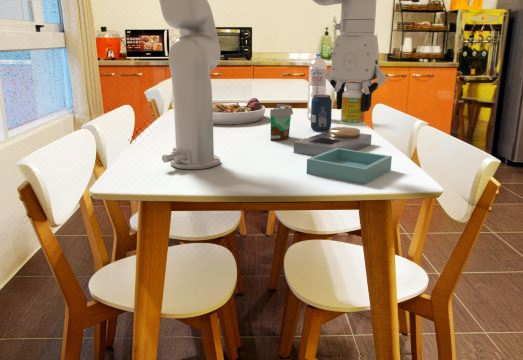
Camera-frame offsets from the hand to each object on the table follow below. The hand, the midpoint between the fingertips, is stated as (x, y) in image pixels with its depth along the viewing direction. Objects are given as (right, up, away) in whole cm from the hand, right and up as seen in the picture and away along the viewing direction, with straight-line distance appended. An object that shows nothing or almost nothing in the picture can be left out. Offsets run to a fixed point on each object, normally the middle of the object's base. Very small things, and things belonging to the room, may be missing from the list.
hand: (353, 109), depth 113 cm
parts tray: (0, -14, +4) cm, 15 cm away
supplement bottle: (0, -4, +1) cm, 4 cm away
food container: (-15, -3, +42) cm, 45 cm away
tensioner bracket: (0, -7, +28) cm, 29 cm away
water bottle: (0, +7, +77) cm, 77 cm away
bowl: (-35, +7, +77) cm, 85 cm away
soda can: (-1, +1, +55) cm, 55 cm away
